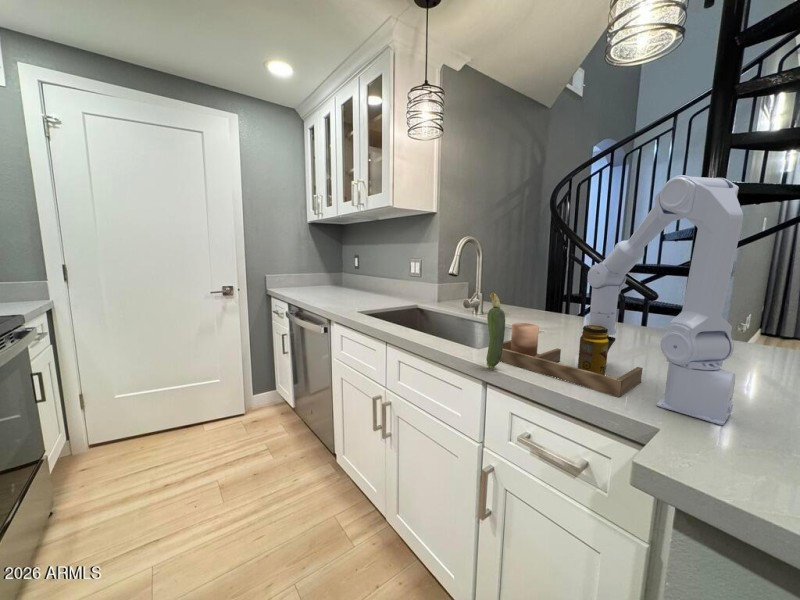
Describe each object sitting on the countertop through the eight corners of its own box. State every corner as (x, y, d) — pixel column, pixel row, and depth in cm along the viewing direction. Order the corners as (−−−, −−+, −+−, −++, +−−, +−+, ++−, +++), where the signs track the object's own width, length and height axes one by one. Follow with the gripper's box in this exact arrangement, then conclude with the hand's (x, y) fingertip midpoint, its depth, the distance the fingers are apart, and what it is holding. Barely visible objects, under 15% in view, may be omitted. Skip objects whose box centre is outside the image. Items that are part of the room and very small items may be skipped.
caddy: (640, 382, 76) (645, 341, 75) (618, 397, 68) (623, 351, 67) (515, 349, 102) (517, 318, 101) (488, 357, 94) (489, 324, 92)
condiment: (614, 378, 78) (619, 329, 77) (582, 380, 77) (586, 330, 75) (591, 368, 86) (595, 323, 84) (562, 369, 84) (566, 324, 83)
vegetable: (500, 367, 86) (504, 291, 83) (504, 372, 82) (508, 293, 79) (483, 366, 86) (487, 291, 84) (486, 372, 82) (490, 293, 79)
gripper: (598, 307, 91) (593, 354, 92) (573, 312, 82) (569, 365, 84) (627, 311, 85) (622, 361, 87) (604, 317, 76) (599, 372, 78)
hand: (598, 363), depth 85 cm, fingers closed
